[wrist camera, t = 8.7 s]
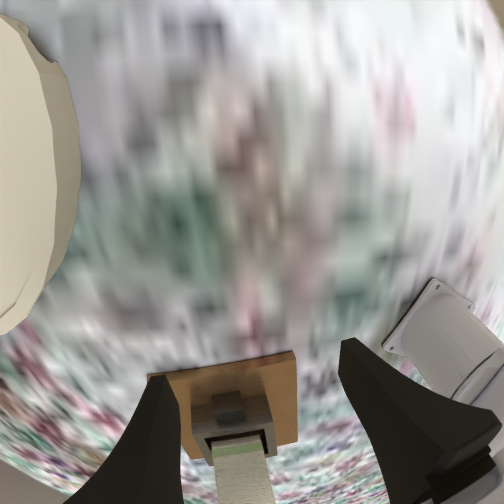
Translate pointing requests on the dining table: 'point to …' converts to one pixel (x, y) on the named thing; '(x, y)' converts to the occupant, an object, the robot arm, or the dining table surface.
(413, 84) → the dining table surface
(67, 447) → the dining table surface
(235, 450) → the grayish brown rectangular block
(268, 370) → the stand base
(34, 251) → the ashtray
